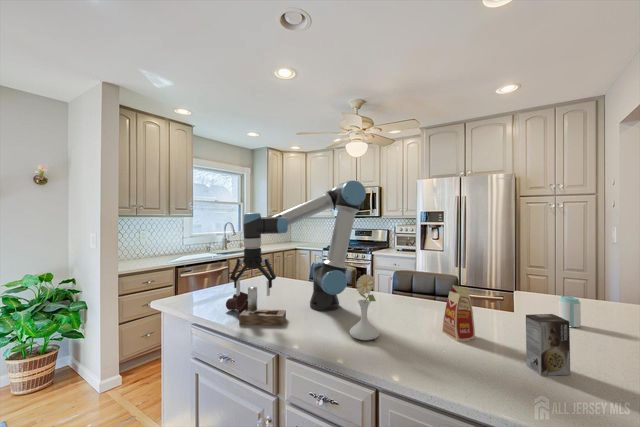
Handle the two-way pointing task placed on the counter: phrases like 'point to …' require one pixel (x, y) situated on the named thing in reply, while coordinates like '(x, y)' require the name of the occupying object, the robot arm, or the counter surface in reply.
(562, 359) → the grey cardboard box
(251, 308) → the steel peg
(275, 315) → the keyhole block
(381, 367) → the counter surface
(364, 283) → the flower in vase
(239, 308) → the dark brown lumpy piece
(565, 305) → the can
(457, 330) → the milk carton
